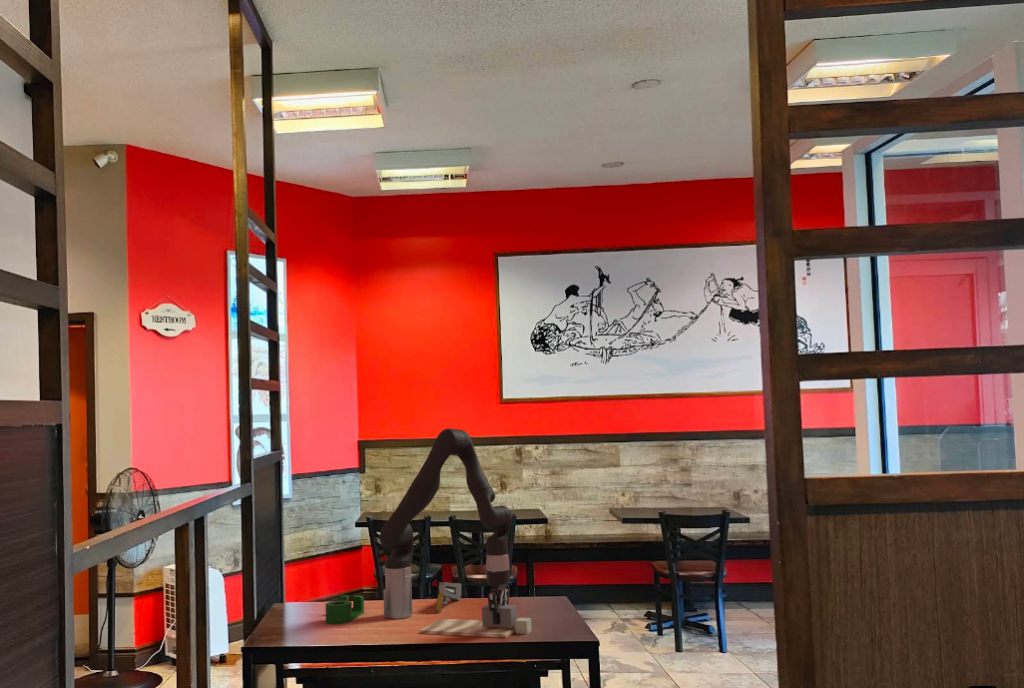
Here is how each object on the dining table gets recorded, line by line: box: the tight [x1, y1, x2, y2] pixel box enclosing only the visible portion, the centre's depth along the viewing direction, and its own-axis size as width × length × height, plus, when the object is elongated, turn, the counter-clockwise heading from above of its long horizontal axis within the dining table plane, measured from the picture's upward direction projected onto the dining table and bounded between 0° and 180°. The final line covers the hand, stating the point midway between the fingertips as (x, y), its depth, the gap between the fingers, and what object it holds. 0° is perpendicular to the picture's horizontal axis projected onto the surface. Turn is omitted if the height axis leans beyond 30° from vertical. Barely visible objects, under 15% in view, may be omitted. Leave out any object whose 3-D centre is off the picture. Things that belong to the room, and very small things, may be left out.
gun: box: [435, 581, 462, 614], centre depth 298 cm, size 3×25×15 cm, turn 166°
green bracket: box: [325, 594, 365, 625], centre depth 284 cm, size 18×9×6 cm, turn 171°
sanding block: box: [481, 603, 518, 628], centre depth 256 cm, size 10×5×6 cm, turn 70°
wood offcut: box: [515, 617, 533, 635], centre depth 253 cm, size 4×4×4 cm
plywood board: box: [419, 618, 516, 639], centre depth 259 cm, size 30×16×1 cm, turn 70°
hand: (499, 621), depth 256 cm, fingers closed on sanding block, 5 cm apart
